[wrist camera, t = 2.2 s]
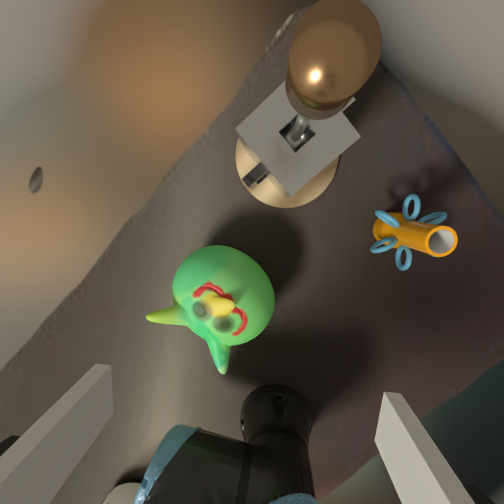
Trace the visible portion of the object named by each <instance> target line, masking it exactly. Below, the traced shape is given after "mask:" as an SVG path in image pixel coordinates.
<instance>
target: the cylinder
mask: <svg viewBox="0 0 504 504" xmlns="http://www.w3.org/2000/svg"><path fill="white" fill-rule="evenodd" d="M412 199H413V200H414V211H413V214H412V215H411V216H410V215H409V214H408V205H409V202H410V201H411V200H412ZM420 206H421V203H420V199H419V197H418V196H417V195H416V194H410V195H409V196H407V198H406V199H405V201H404V203H403V208H402V213H395V212H388V213H386V212H384V211H381V210H377V211H376V212H375V215H376V216H377V217H378V218H377V220H376V221H375V223H374V225H373V234H374V237H375V239H376V240H377V242H375V243H374V244H373V245H372V246H371V247H370V251H371V252H373V253H380V252H384V251H387V250H389V249H391V248H398V249H397V251H396V256H395V260H396V265H397V267H398V268H399V269H400V270H403V271H404V270H407V269H408V268H409V267H410V265H411V262H412V252H411V249H410V248H412V249H415V250H418V251H421V252H424V253H427V254H429V255H431V256H433V257H443V256H446V255H448V254H450V253H451V252H452V251H453V250H454V249H455V247H456V245H457V242H458V238H457V234H456V232H455V231H454V230H453V229H452V228H450V227H447V226H441V225H436V224H439V223H441V222H442V221H444V220H445V219H446V217H447V214H446V213H445V212H436V213H432V214H429V215H426V216H424V217H422V218H421V219H419V220H418V221H417V222H416V221H415V219H416V217H417V216H418V214H419V211H420ZM435 217H439V218H437V219H435V220H433V221H430V222H427V223H423V222H425V221H427V220H429V219H432V218H435ZM381 244H384V245H386V246H383V247H380V248H377V247H378V246H380V245H381ZM403 249H404V250H405V251H406V262H405V264H404V266H403V265H402V264H401V253H402V251H403Z"/></svg>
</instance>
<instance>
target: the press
mask: <svg viewBox="0 0 504 504" xmlns="http://www.w3.org/2000/svg"><path fill="white" fill-rule="evenodd" d="M285 81H286V80H285ZM285 81H284V82H283V83H282V84H281V85H280V86H279V87H278V88H277V89H276V90H275V91H274V92H273V93H272V94H271V95H270V96H269V97H268V98H267V99H266V100H265V101H264V102H263V103H262V104H260V105H259V106H258V107H257V108H256V109H255V110H254V111H253V112H252V113H251V114H250V115H249V116H248V117H247V118H246V119H245V120H244V121H243V122H242V123H241V124H240V125H239V126H238V127H237V128H235V130H236V132H237V134H238V136H239V138H240V140H241V142H242V145H243V147H244V149H245V151H246V153H247V154H248V156H249V157H250V158H251V159H252V160H253V162H254V163H255V164H256V166H255V167H254V168H253V169H252V170H251V171H250V172H249V173H248V174H246V175H245V176H244V177H243V178H242V180H243V182H244V183H245V184H246V185H247V186H248V188H250V189H252V190H253V189H254V188H255V187H257V186H258V185H259V184H260V183H261V182H262V181H263V180H264V179H266V178H268V180H269V181H270V182H271V183H272V184H273V186H274V187H275V188H276V189H277V190H278V192H279V193H280V194H281V195H282V196H283V197H291V196H292V195H293V194H295V193H296V192H297V191H298V190H299V189H300V188H302V187H303V186H304V185H305V184H306V183H307V182H309V181H310V180H311V179H312V178H313V177H314V176H316V175H317V174H318V173H319V172H320V171H321V170H323V169H324V168H325V167H326V166H327V165H328V164H330V163H331V162H332V161H333V160H334V159H335V158H337V157H338V156H339V155H340V154H341V153H342V152H344V151H345V150H346V149H347V148H348V147H349V146H351V145H352V144H353V143H354V142H355V141H356V140H358V139H359V138H360V137H361V136H360V135H359V134H358V132H357V131H356V130H355V128H354V127H353V126H352V124H351V123H350V122H349V120H348V119H347V118H346V117H345V115H344V114H343V112H344V111H345V110H346V109H347V108H348V107H349V106H350V105H351V104H352V103H353V102H354V101H355V100H356V99H355V98H354V97H353V98H352V99H351V100H350V101H349V103H348V104H347V105H346V106H345V107H344V108H343V109H342V110H341V111H340V112H339V113H338V114H336V115H334V116H332V117H330V118H327V119H323V120H312V119H311V120H310V122H309V123H308V125H307V126H308V127H309V129H310V130H311V131H312V132H313V134H314V136H313V137H312V138H311V139H310V140H309V141H308V142H307V143H305V144H304V145H303V146H302V147H301V148H300V149H299V150H298V151H297V152H295V151H294V150H293V149H292V148H291V146H290V145H289V144H288V143H287V142H286V140H285V139H284V138H283V137H282V135H281V134H280V133H279V132H280V131H281V130H282V129H283V128H284V127H286V126H287V125H288V124H289V123H290V122H291V121H292V120H293V119H294V118H295V117H296V116H298V114H299V113H297V112H296V111H295V110H294V109H293V107H292V106H291V104H290V102H289V100H288V98H287V94H286V88H285Z"/></svg>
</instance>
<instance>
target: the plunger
mask: <svg viewBox="0 0 504 504" xmlns="http://www.w3.org/2000/svg"><path fill="white" fill-rule="evenodd" d="M381 45H382V37H381V30H380V27H379V24H378V21H377V19H376V17H375V15H374V14H373V12H372V11H371V10H370V9H369V8H368V7H367V6H366V5H365V4H363V3H362V2H361V1H359V0H321V1H319V2H317V3H316V4H314V5H313V6H311V7H310V8H309V9H308V10H307V11H306V12H305V13H304V15H303V16H302V17H301V19H300V20H299V22H298V24H297V26H296V28H295V30H294V33H293V37H292V41H291V48H290V54H289V61H288V67H287V74H286V81H285V88H286V94H287V98H288V100H289V102H290V104H291V106H292V107H293V109H294V110H295V111H296V112H297V113H299V114H298V116H296V117H295V118H294V119H293V120H292V121H291V122H290V123H289V124H288V125H287V126H286V127H284V128H283V129H282V130H281V131H280V132H279V133H280V134H281V135H282V137H283V138H284V139H285V140H286V142H287V143H288V144H289V145H290V146H291V148H292V149H293V150H294V151H295V152H297V151H298V150H299V149H300V148H301V147H302V146H303V145H304V144H305V143H307V142H308V141H309V140H310V139H311V138H312V137H313V136H314V134H313V132H312V131H311V130H310V129H309V127H308V126H307V125H308V123H309V122H310V120H311V119H312V120H323V119H327V118H330V117H332V116H334V115H336V114H338V113H339V112H340V111H341V110H342V109H343V108H344V107H345V106H346V105H347V104H348V103H349V101H350V100H351V99H352V98H353V97H354V95H355V94H356V93H357V92H358V91H359V90H360V88H361V87H362V86H363V85H364V84H365V82H366V81H367V80H368V79H369V77H370V76H371V75H372V73H373V72H374V70H375V68H376V66H377V64H378V61H379V58H380V53H381Z"/></svg>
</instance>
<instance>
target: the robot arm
mask: <svg viewBox="0 0 504 504" xmlns="http://www.w3.org/2000/svg"><path fill="white" fill-rule="evenodd" d="M112 415H113V395H112V376H111V365H100V364H95V365H94V366H93V367H92V368H91V369H90V370H89V371H88V372H87V373H86V374H85V375H84V376H83V377H82V378H81V379H80V380H79V381H78V382H77V383H76V384H75V385H74V386H73V387H72V388H71V389H70V390H69V391H67V392H66V393H65V394H64V395H63V396H62V397H61V398H60V399H59V400H58V401H57V402H56V403H55V404H54V405H53V406H52V407H51V408H50V409H49V410H48V411H47V412H46V413H45V414H44V415H43V416H42V417H41V418H40V419H39V420H38V421H37V422H36V423H34V424H33V425H32V426H31V427H30V428H29V429H28V430H27V431H26V432H25V433H24V434H23V435H22V436H10V437H9V438H7V439H6V440H4V441H2V442H1V443H0V504H49V503H50V502H51V500H52V499H53V497H54V496H55V495H56V493H57V492H58V490H59V489H60V488H61V486H62V485H63V483H64V482H65V481H66V479H67V478H68V476H69V475H70V474H71V472H72V471H73V469H74V468H75V467H76V465H77V464H78V462H79V461H80V460H81V458H82V457H83V455H84V454H85V453H86V451H87V450H88V448H89V447H90V446H91V444H92V443H93V441H94V440H95V439H96V437H97V436H98V434H99V433H100V432H101V430H102V429H103V427H104V426H105V425H106V423H107V422H108V420H109V419H110V418H111V416H112ZM240 425H241V430H242V434H243V438H244V442H243V441H240V440H236V439H233V438H230V437H226V436H223V435H220V434H216V433H213V432H210V431H206V430H203V429H201V428H200V427H196V428H194V427H190V426H186V425H176V426H174V427H173V428H171V429H170V430H169V431H168V433H167V434H166V435H165V437H164V438H163V440H162V442H161V443H160V445H159V447H158V449H157V450H156V452H155V454H154V456H153V458H152V460H151V462H150V464H149V466H148V468H147V470H146V473H145V475H144V479H143V480H142V483H141V485H140V487H139V489H138V491H137V494H136V497H135V500H134V504H318V502H317V501H316V495H315V489H314V483H313V477H312V471H311V465H310V459H309V454H308V442H309V436H310V433H311V429H312V419H311V414H310V409H309V406H308V404H307V402H306V401H305V399H304V398H303V397H302V396H301V395H300V394H299V393H297V392H296V391H294V390H292V389H290V388H287V387H284V386H277V385H272V386H265V387H262V388H259V389H257V390H255V391H254V392H252V393H251V394H250V395H249V396H248V397H247V398H246V400H245V401H244V403H243V406H242V409H241V417H240ZM375 443H376V445H377V447H378V450H379V452H380V454H381V457H382V459H383V461H384V463H385V465H386V468H387V470H388V472H389V475H390V477H391V479H392V482H393V484H394V486H395V489H396V491H397V493H398V495H399V498H400V500H401V502H402V504H495V503H494V502H492V500H490V499H489V498H488V497H487V496H486V495H485V494H484V493H483V492H482V491H481V490H480V489H479V488H478V487H477V486H472V485H462V483H461V482H460V481H459V479H458V478H457V476H456V475H455V473H454V472H453V470H452V469H451V467H450V466H449V464H448V463H447V461H446V460H445V458H444V457H443V456H442V454H441V452H440V451H439V449H438V448H437V446H436V445H435V443H434V442H433V441H432V439H431V438H430V436H429V435H428V433H427V432H426V430H425V429H424V427H423V426H422V424H421V423H420V421H419V420H418V418H417V417H416V415H415V414H414V412H413V411H412V409H411V408H410V406H409V405H408V403H407V402H406V401H405V399H404V398H403V396H402V395H401V393H390V392H384V395H383V400H382V405H381V410H380V415H379V421H378V426H377V431H376V436H375Z"/></svg>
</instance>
